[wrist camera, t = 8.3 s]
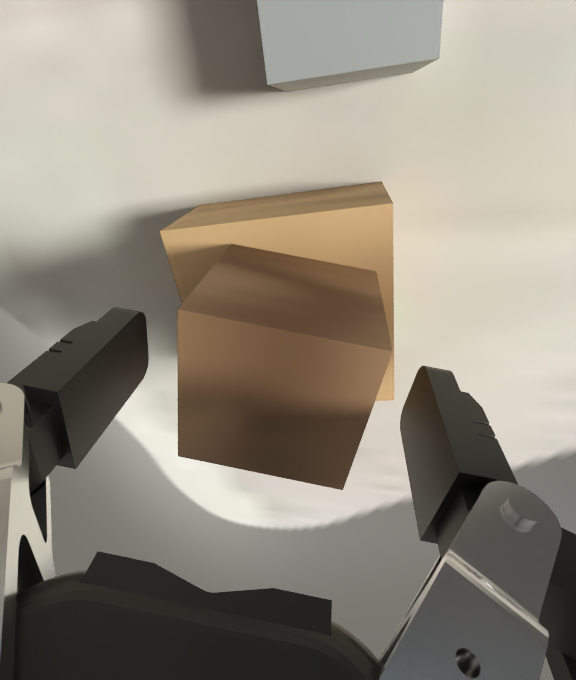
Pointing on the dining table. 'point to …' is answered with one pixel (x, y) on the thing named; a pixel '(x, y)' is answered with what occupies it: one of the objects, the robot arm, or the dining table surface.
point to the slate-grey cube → (346, 39)
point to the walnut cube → (280, 364)
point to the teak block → (293, 238)
